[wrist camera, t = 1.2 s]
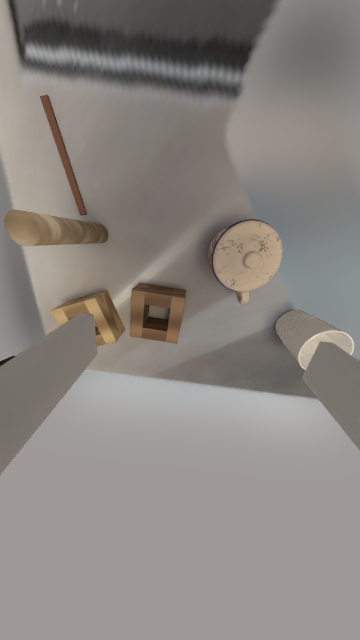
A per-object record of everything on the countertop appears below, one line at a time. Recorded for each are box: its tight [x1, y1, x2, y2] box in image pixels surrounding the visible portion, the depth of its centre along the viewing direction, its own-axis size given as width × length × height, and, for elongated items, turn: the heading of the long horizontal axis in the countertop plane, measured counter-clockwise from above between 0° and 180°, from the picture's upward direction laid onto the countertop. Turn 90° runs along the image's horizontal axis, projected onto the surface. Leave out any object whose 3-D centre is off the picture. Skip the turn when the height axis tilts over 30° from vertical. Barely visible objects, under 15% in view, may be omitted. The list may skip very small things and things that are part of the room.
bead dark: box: [130, 283, 186, 344], centre depth 34 cm, size 9×9×5 cm
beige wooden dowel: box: [4, 210, 108, 246], centre depth 24 cm, size 3×3×16 cm
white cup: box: [275, 310, 354, 370], centre depth 32 cm, size 8×8×10 cm
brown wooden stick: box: [40, 95, 87, 215], centre depth 27 cm, size 14×1×1 cm, turn 10°
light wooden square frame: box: [51, 290, 125, 346], centre depth 36 cm, size 9×9×5 cm
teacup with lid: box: [208, 219, 282, 304], centre depth 27 cm, size 12×9×12 cm
